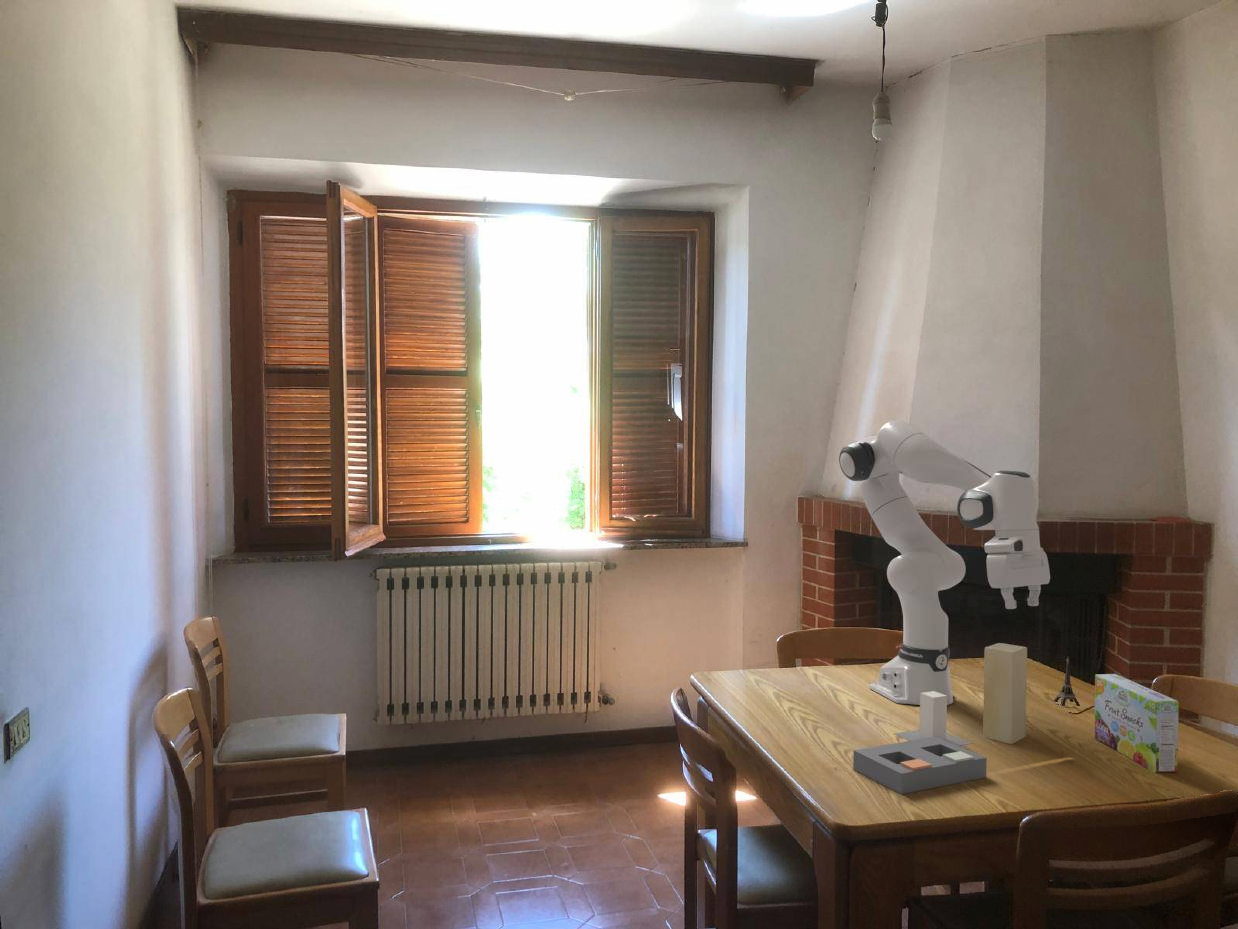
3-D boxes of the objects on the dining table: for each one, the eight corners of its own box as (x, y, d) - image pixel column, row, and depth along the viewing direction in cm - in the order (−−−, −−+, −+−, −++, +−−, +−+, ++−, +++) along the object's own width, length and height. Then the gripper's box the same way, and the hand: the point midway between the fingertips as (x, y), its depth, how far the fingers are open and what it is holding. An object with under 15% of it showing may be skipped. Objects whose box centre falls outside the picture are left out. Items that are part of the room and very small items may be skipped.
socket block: (853, 769, 187) (853, 747, 187) (935, 754, 196) (935, 734, 196) (901, 794, 174) (901, 771, 174) (986, 777, 183) (986, 755, 183)
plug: (919, 736, 206) (920, 693, 206) (932, 734, 208) (933, 691, 207) (932, 742, 202) (933, 697, 202) (946, 740, 204) (947, 695, 204)
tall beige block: (993, 731, 213) (996, 641, 212) (1025, 738, 207) (1028, 647, 207) (978, 738, 207) (981, 646, 206) (1011, 747, 202) (1013, 652, 201)
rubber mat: (893, 736, 208) (893, 733, 208) (933, 729, 213) (933, 727, 213) (931, 753, 197) (931, 750, 197) (973, 746, 202) (973, 743, 202)
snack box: (1091, 739, 208) (1093, 673, 207) (1115, 738, 208) (1117, 673, 208) (1153, 773, 187) (1156, 700, 186) (1179, 773, 187) (1182, 700, 187)
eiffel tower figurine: (1077, 717, 225) (1078, 663, 225) (1035, 708, 233) (1037, 656, 232) (1100, 705, 236) (1101, 654, 235) (1060, 697, 243) (1061, 647, 243)
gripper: (1027, 543, 209) (1032, 603, 208) (979, 545, 196) (984, 610, 195) (1055, 542, 204) (1059, 604, 203) (1007, 544, 191) (1012, 611, 190)
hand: (1022, 607), depth 199 cm, fingers open, 8 cm apart
